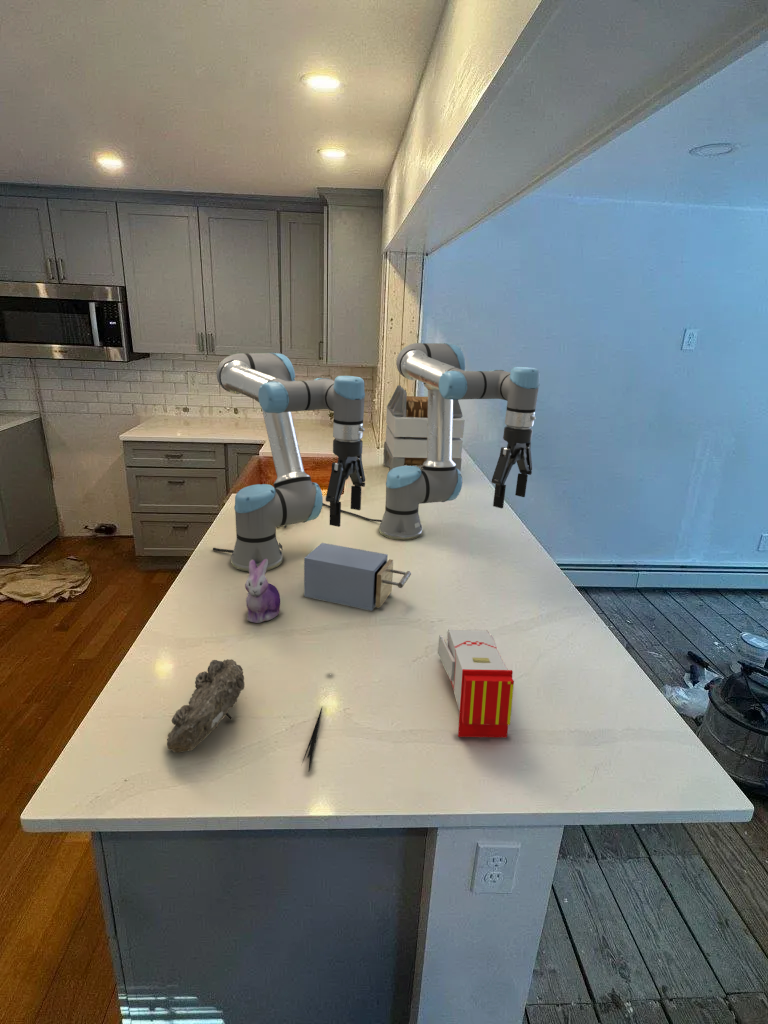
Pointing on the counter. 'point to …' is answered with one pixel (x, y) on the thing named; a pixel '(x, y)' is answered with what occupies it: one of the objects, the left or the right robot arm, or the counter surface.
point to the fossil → (206, 705)
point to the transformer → (415, 431)
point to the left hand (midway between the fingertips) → (345, 517)
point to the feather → (313, 740)
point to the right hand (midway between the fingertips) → (509, 501)
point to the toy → (478, 682)
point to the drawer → (387, 582)
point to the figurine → (261, 594)
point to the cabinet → (342, 575)
